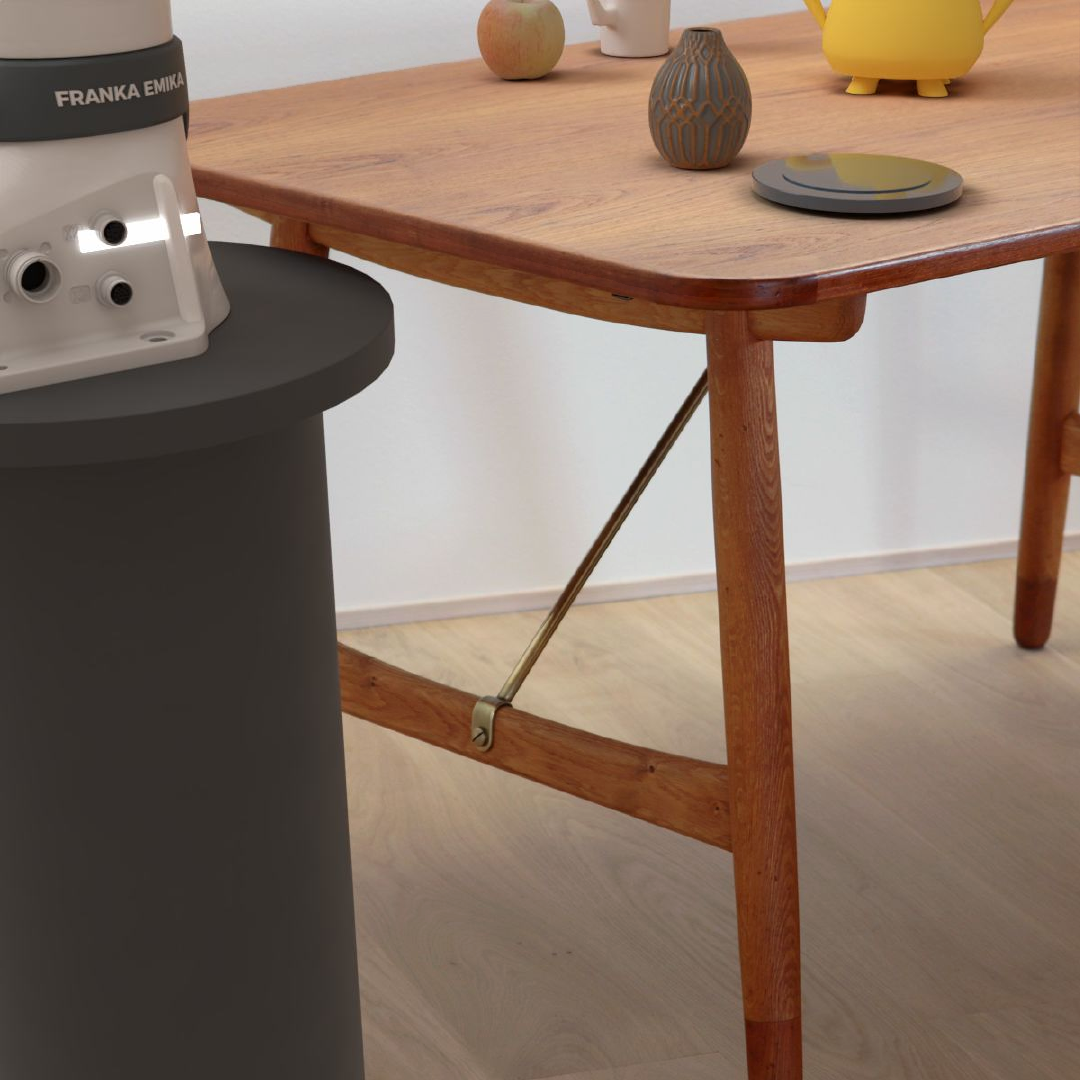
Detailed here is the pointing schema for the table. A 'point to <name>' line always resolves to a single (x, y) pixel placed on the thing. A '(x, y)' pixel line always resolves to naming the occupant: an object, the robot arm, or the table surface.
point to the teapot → (904, 40)
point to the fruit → (521, 37)
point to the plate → (857, 183)
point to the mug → (632, 26)
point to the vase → (700, 103)
